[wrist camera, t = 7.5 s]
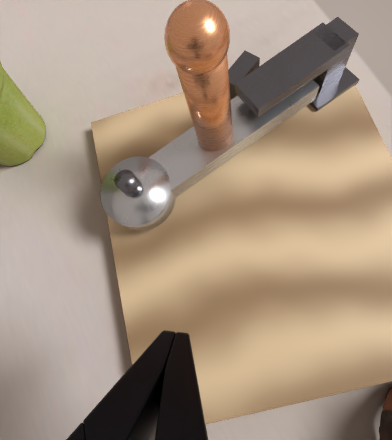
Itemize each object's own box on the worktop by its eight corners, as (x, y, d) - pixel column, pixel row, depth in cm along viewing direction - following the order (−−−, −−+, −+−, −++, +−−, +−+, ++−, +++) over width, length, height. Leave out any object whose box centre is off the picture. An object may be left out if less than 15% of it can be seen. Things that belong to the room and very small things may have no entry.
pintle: (176, 218, 24) (159, 198, 19) (128, 232, 24) (100, 216, 19) (165, 173, 25) (147, 144, 20) (119, 187, 25) (91, 161, 21)
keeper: (261, 150, 24) (265, 116, 20) (213, 94, 26) (206, 52, 22) (357, 83, 24) (382, 34, 20) (301, 33, 26) (312, -21, 22)
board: (477, 355, 19) (491, 358, 18) (149, 431, 21) (144, 438, 20) (330, 54, 27) (334, 43, 26) (97, 130, 28) (91, 122, 27)
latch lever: (131, 244, 23) (23, 189, 12) (99, 192, 24) (-23, 99, 13) (323, 109, 23) (394, -69, 12) (279, 66, 24) (305, -125, 14)
